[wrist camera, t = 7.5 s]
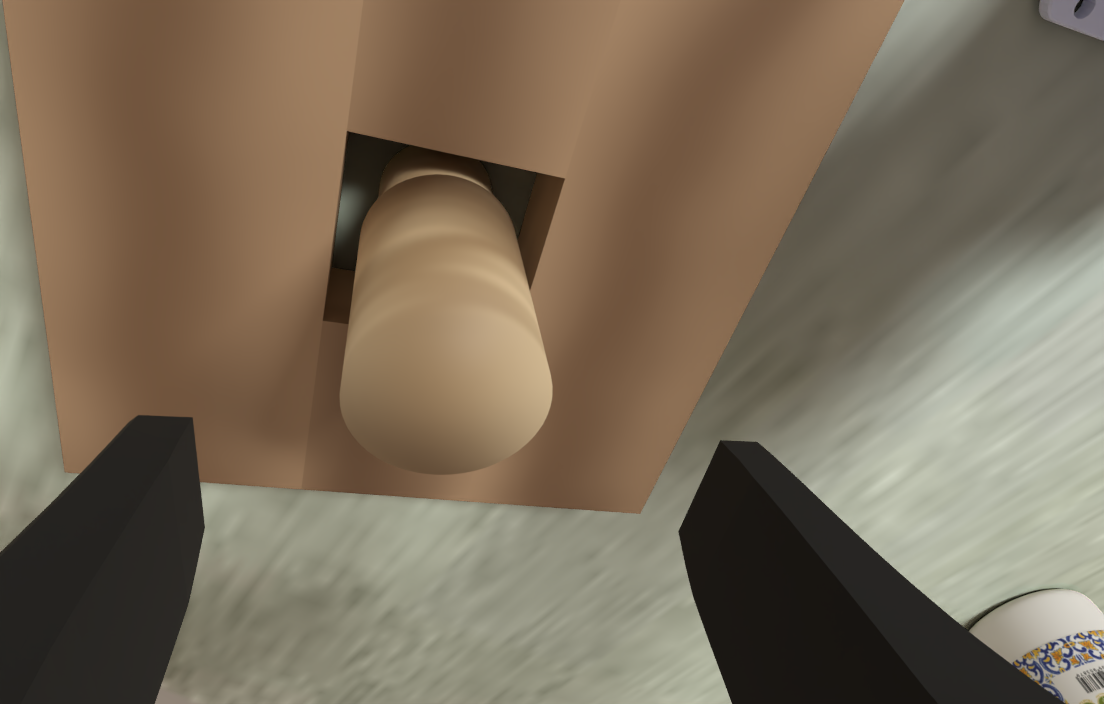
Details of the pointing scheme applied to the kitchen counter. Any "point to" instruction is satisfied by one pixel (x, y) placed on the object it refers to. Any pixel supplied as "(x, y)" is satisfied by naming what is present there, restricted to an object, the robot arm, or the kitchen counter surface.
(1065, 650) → the bath foam
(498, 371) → the peg
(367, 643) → the kitchen counter surface
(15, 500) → the kitchen counter surface
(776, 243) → the board
